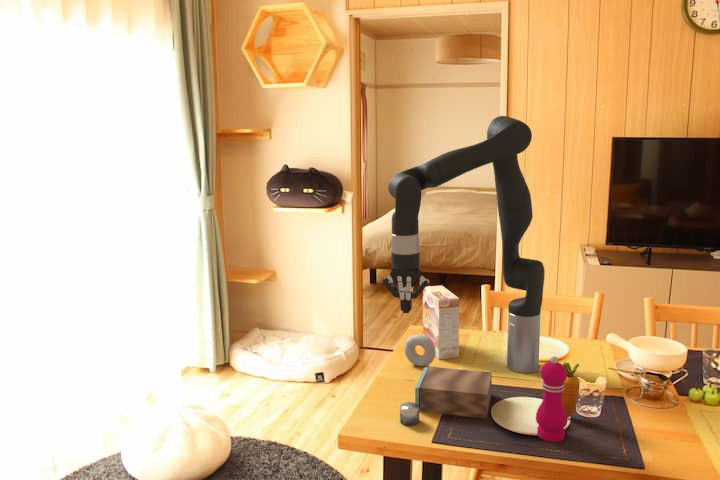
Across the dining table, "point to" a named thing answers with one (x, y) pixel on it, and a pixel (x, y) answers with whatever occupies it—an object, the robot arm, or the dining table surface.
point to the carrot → (570, 389)
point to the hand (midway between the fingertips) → (406, 312)
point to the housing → (456, 392)
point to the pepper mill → (552, 402)
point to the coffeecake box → (441, 320)
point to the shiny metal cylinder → (409, 414)
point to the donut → (427, 346)
